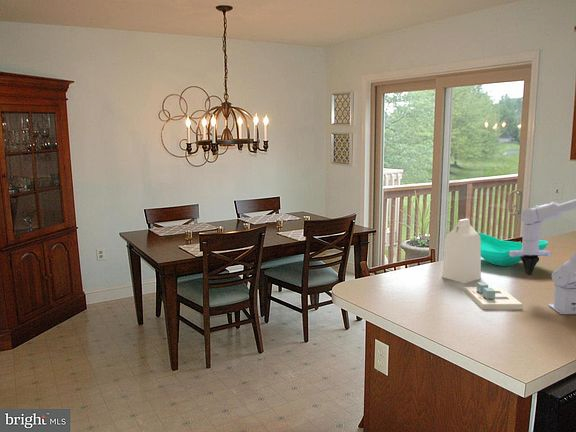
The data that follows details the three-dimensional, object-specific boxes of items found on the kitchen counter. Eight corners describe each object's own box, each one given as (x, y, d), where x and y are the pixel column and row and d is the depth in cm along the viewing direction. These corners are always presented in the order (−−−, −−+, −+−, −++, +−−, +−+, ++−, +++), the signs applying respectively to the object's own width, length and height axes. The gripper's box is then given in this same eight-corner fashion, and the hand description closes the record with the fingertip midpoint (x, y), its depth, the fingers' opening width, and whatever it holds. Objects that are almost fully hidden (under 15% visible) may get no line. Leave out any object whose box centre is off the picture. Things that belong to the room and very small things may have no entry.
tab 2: (495, 298, 180) (495, 291, 180) (486, 298, 180) (487, 291, 180) (490, 295, 184) (491, 287, 184) (482, 295, 184) (483, 287, 184)
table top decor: (449, 263, 240) (450, 236, 238) (471, 252, 260) (472, 228, 258) (536, 278, 213) (538, 248, 211) (553, 265, 234) (555, 238, 232)
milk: (464, 283, 208) (467, 223, 203) (441, 277, 217) (444, 219, 213) (480, 278, 215) (484, 219, 210) (458, 272, 224) (460, 216, 220)
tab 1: (487, 292, 187) (488, 285, 187) (480, 292, 187) (480, 285, 187) (484, 289, 191) (484, 282, 191) (476, 289, 191) (476, 282, 191)
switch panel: (522, 309, 176) (522, 303, 176) (482, 309, 176) (483, 303, 176) (500, 291, 196) (500, 286, 195) (464, 291, 196) (464, 286, 196)
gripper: (545, 237, 188) (542, 271, 190) (506, 237, 188) (504, 271, 190) (554, 241, 181) (551, 276, 183) (514, 241, 181) (512, 276, 183)
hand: (528, 274), depth 186 cm, fingers closed
